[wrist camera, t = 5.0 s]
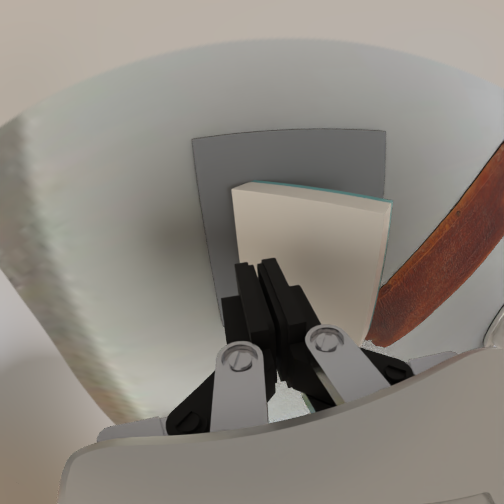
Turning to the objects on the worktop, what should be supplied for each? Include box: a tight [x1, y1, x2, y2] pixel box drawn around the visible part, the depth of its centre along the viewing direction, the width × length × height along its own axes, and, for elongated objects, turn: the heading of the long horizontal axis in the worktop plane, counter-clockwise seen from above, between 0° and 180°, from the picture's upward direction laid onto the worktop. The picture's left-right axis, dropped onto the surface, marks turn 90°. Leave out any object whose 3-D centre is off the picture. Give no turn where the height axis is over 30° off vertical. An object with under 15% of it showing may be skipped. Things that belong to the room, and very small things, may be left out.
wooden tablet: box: [365, 143, 504, 347], centre depth 19 cm, size 27×10×2 cm, turn 132°
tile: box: [231, 180, 393, 347], centre depth 13 cm, size 2×7×7 cm
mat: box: [192, 129, 386, 327], centre depth 16 cm, size 11×12×1 cm
